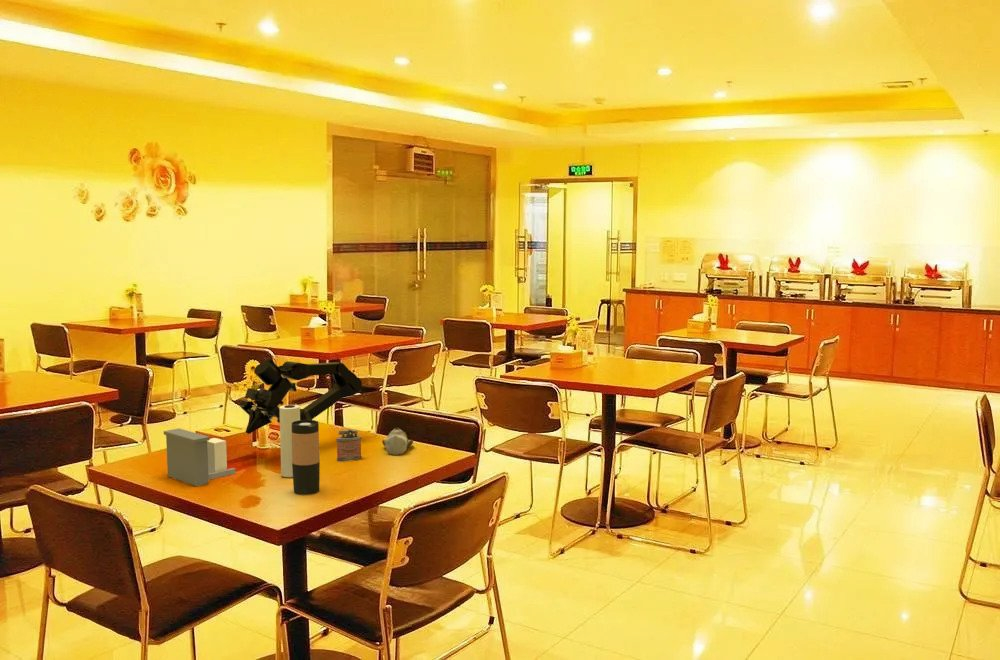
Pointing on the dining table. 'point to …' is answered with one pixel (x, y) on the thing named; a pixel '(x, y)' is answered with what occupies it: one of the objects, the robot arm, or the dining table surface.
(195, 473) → the grey boxy piece
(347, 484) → the dining table surface
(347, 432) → the lighter
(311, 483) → the travel mug
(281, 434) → the paper towel roll
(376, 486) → the dining table surface
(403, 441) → the ceramic sculpture
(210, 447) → the cream rectangular block
